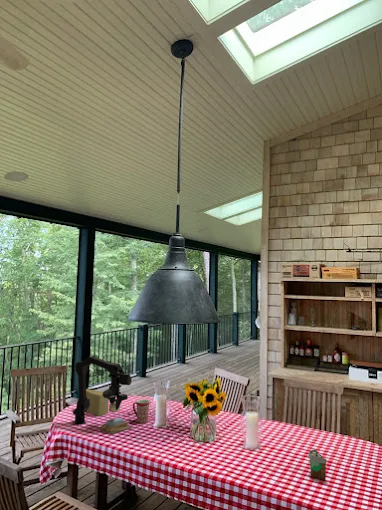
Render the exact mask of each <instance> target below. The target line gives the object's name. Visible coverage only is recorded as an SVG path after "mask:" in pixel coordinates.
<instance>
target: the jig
mask: <svg viewBox="0 0 382 510" xmlns="http://www.w3.org/2000/svg"><path fill="white" fill-rule="evenodd" d="M131 429H132V426H130V425H128V421H127V422H126V421H124V423H121V424H118V425H115V426H111V427H110V426H107V422H106V423H103V424H102V425H101V426H100V427H98V428H97V430H99V431H102V432H103V433H106V434H109V435H115V434H118V433H120V432H121V433H122V432H124V431H127V430H131Z"/></svg>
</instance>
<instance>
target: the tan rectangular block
mask: <svg viewBox="0 0 382 510" xmlns="http://www.w3.org/2000/svg"><path fill="white" fill-rule="evenodd" d="M120 411H121V405H120V406H119V408H118V410H116V402H115V403H111V404H110V403H108V412H110V413H116V412H120Z"/></svg>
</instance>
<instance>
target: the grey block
mask: <svg viewBox="0 0 382 510" xmlns="http://www.w3.org/2000/svg"><path fill="white" fill-rule="evenodd" d="M124 422H125V420H124V418H121V417H118V418H112V419H108V420H106V423H107V426H110V427H111V426H115V425H118V424H121V423H124Z"/></svg>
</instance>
